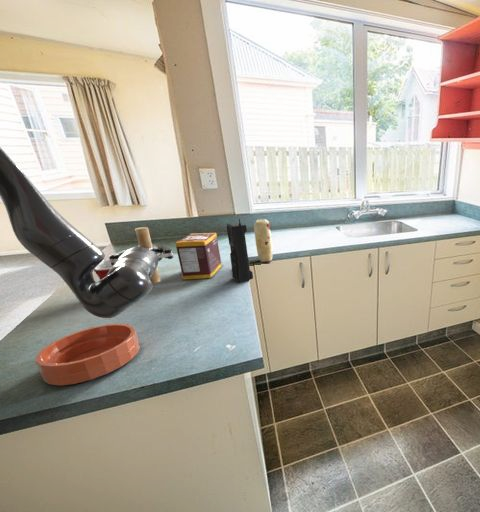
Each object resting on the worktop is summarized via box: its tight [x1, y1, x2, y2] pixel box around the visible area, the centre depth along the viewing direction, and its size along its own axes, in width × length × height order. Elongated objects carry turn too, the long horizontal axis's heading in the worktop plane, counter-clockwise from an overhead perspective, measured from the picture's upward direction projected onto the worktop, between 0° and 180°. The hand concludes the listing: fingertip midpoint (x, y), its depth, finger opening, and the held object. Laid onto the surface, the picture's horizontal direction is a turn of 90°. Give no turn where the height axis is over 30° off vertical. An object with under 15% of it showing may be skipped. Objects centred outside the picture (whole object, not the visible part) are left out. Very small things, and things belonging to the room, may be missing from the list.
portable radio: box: [226, 218, 254, 283], centre depth 117 cm, size 8×6×25 cm
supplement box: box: [174, 232, 223, 281], centre depth 124 cm, size 10×15×16 cm
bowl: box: [34, 323, 141, 386], centre depth 70 cm, size 17×17×6 cm
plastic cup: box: [93, 257, 113, 281], centre depth 105 cm, size 11×11×12 cm
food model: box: [253, 218, 273, 263], centre depth 140 cm, size 10×7×20 cm
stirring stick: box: [134, 226, 161, 285], centre depth 84 cm, size 3×3×16 cm
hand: (148, 248), depth 85 cm, fingers closed on stirring stick, 2 cm apart
